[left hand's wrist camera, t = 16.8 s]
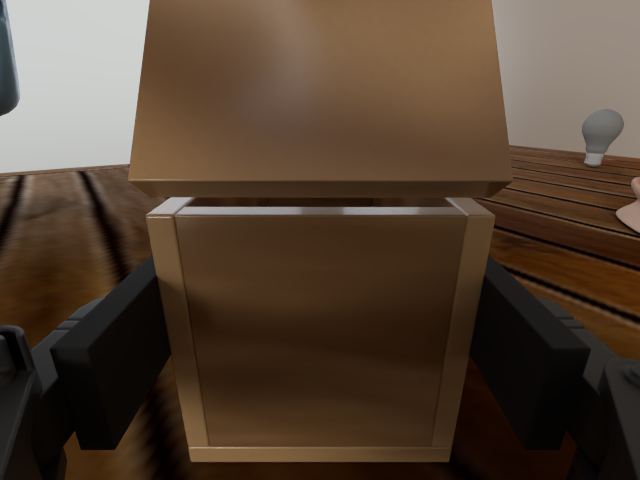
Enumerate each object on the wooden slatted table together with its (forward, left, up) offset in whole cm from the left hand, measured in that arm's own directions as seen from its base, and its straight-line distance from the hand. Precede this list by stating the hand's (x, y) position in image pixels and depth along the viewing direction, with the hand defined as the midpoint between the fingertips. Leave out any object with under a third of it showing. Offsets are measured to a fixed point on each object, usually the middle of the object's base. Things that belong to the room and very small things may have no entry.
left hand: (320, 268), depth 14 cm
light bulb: (-18, +75, -6) cm, 77 cm away
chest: (-4, +3, -6) cm, 8 cm away
